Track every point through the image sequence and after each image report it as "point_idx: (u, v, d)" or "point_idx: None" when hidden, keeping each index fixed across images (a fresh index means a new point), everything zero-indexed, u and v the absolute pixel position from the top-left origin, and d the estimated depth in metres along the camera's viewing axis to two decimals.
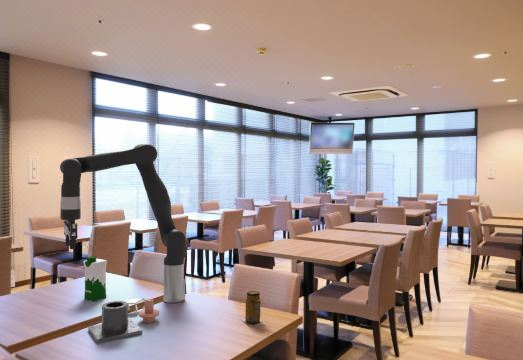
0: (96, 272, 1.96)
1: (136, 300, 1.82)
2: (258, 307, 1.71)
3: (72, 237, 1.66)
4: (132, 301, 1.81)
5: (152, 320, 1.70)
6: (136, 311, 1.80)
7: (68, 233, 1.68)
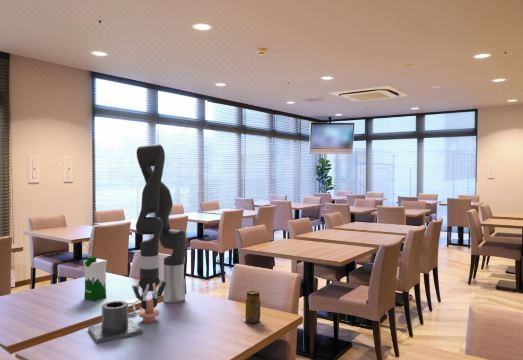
0: (96, 272, 1.96)
1: (134, 300, 1.82)
2: (258, 307, 1.71)
3: None
4: (130, 301, 1.80)
5: (152, 320, 1.70)
6: (134, 311, 1.80)
7: (156, 292, 1.72)
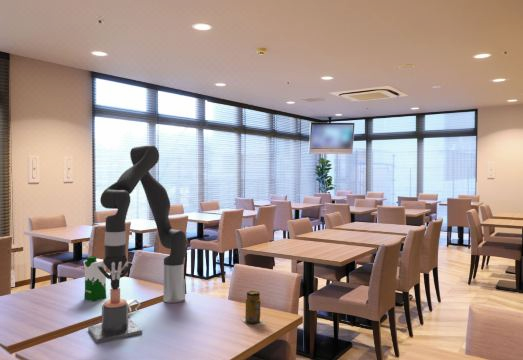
0: (96, 272, 1.96)
1: (129, 301, 1.80)
2: (258, 307, 1.71)
3: None
4: None
5: None
6: (129, 313, 1.78)
7: (120, 272, 1.58)
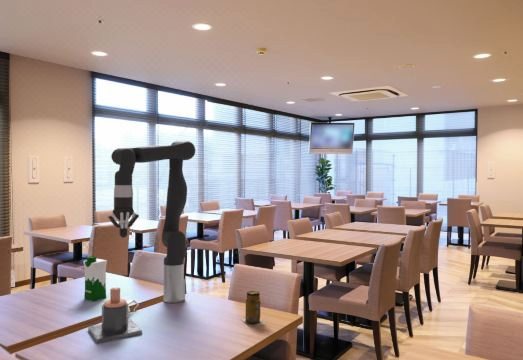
0: (96, 272, 1.96)
1: (127, 302, 1.80)
2: (258, 307, 1.71)
3: None
4: None
5: None
6: (128, 313, 1.78)
7: None
